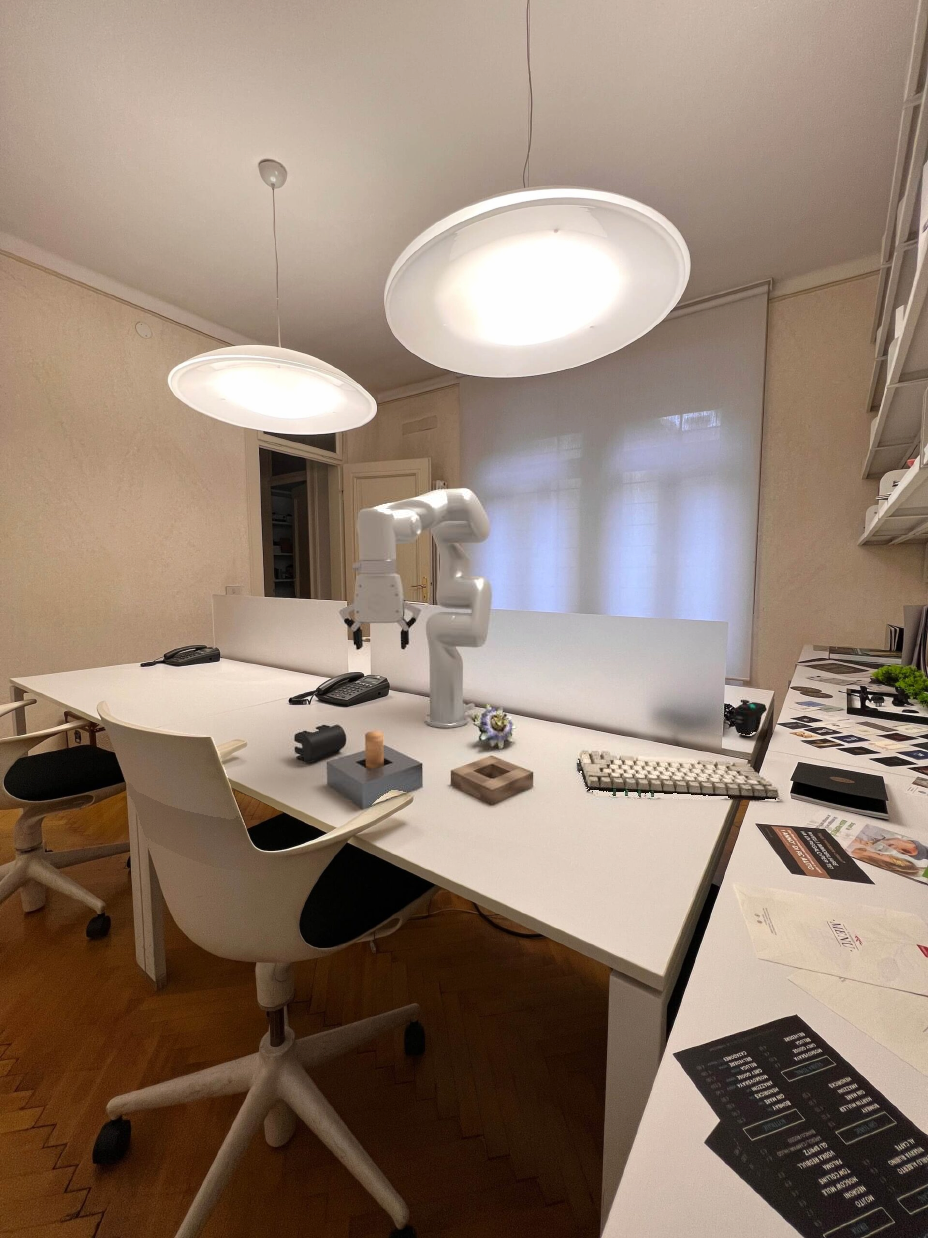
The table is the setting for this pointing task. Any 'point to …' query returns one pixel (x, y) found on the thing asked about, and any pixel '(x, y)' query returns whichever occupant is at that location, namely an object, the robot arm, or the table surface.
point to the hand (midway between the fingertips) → (381, 648)
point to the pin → (374, 750)
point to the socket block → (373, 776)
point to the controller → (748, 717)
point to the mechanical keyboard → (672, 776)
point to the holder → (489, 790)
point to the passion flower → (494, 726)
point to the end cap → (319, 742)
